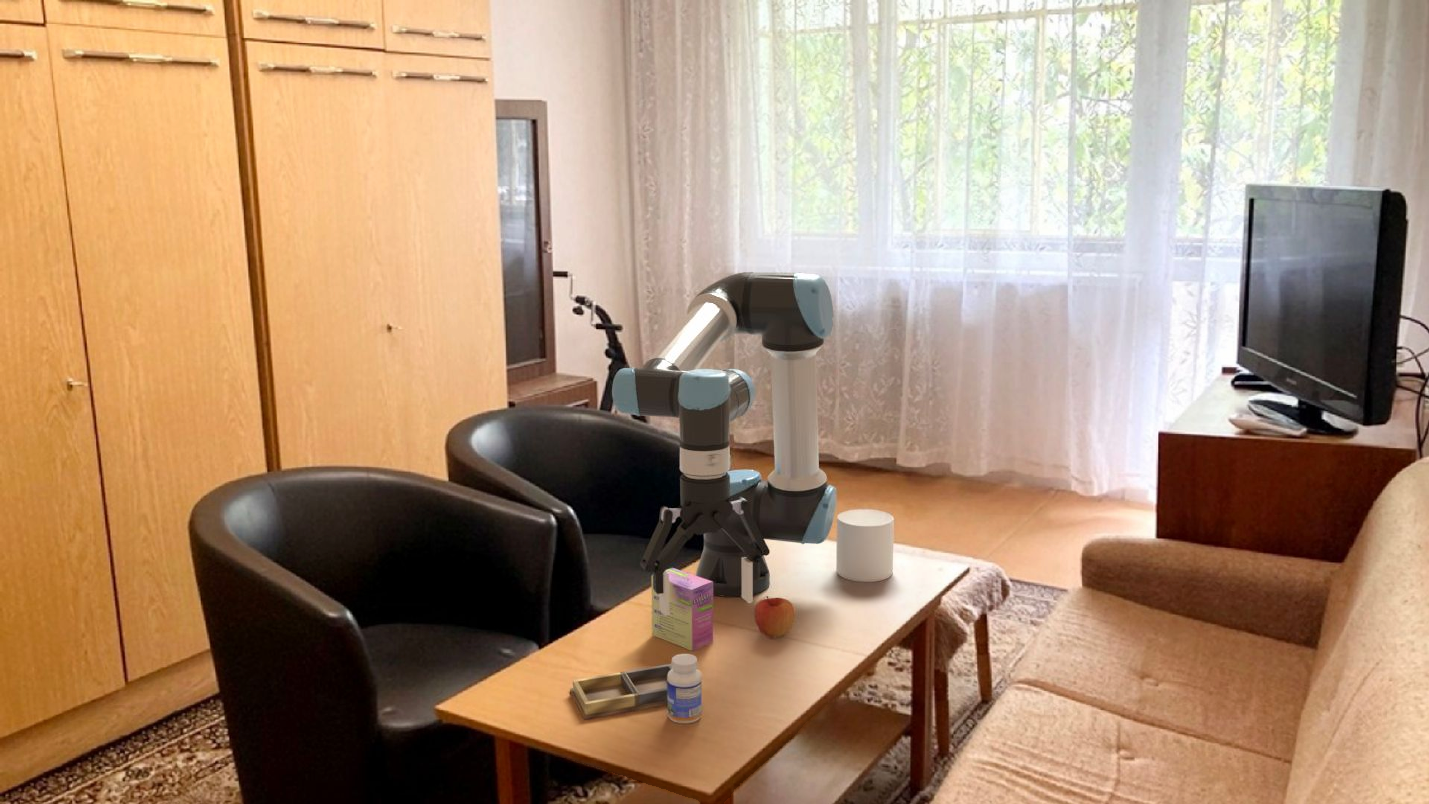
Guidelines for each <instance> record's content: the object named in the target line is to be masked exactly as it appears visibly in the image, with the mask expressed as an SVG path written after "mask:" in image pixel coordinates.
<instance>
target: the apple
mask: <svg viewBox="0 0 1429 804" xmlns="http://www.w3.org/2000/svg"><path fill="white" fill-rule="evenodd" d="M795 618H796V610H795V607H794V604H793V603H792V602H791V601H789V600H787V599H786V598H783V597H771V598H769V596H766V598H765V599H761V600H760V601H758V602H757V604H756V605H755V608H754V620H755V621H754V622H755V624H756V626H757V628H758V630H759V631H760V632H761V633H762V634H763V635H764V636H766V637H767V638H768V639H770V640H772V639H776V638H778V637H785V636H786V635H787V634H789V632H790V631H791V629H792V627H793V626H794V623H795Z"/></svg>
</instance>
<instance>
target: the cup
mask: <svg viewBox="0 0 1429 804" xmlns="http://www.w3.org/2000/svg"><path fill="white" fill-rule="evenodd" d="M894 524H895V518H894V517H893V515H892V514H890V513H889V512H887V511H882V510H877V509H871V508H857V509H849V510H845V511H841V512H840V513H839V514H838V515H837V517H836V563H835V566H836V568H835V569H836V573H837V575H839V576H840V577H842V578H843V579H846V580H848V581H854V582H859V583H860V582H861V583H875V582H880V581H884V580H887V579H888V578H891V576H892V575H893V570H894V534H895V533H894V530H895V529H894V528H895V525H894Z"/></svg>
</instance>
